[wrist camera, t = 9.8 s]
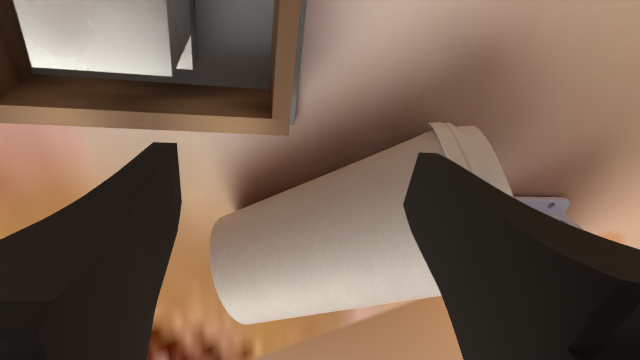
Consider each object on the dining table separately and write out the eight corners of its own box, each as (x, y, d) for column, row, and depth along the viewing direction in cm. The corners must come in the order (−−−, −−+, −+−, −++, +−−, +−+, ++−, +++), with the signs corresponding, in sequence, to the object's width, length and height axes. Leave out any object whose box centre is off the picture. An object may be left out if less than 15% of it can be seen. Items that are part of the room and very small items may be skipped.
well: (297, -73, 17) (307, -69, 14) (283, 104, 21) (288, 135, 18) (-48, -124, 14) (-120, -131, 12) (18, 89, 19) (-23, 122, 16)
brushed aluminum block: (91, -50, 16) (5, -26, 11) (193, -38, 17) (165, -9, 11) (107, 48, 18) (44, 113, 13) (197, 55, 19) (175, 119, 14)
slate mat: (315, -104, 17) (316, -104, 16) (293, 121, 22) (294, 124, 22) (-76, -167, 14) (-84, -169, 14) (13, 107, 20) (8, 110, 19)
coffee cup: (253, 393, 21) (548, 331, 18) (166, 248, 18) (513, 144, 15) (280, 280, 30) (483, 226, 27) (226, 168, 26) (451, 92, 24)
